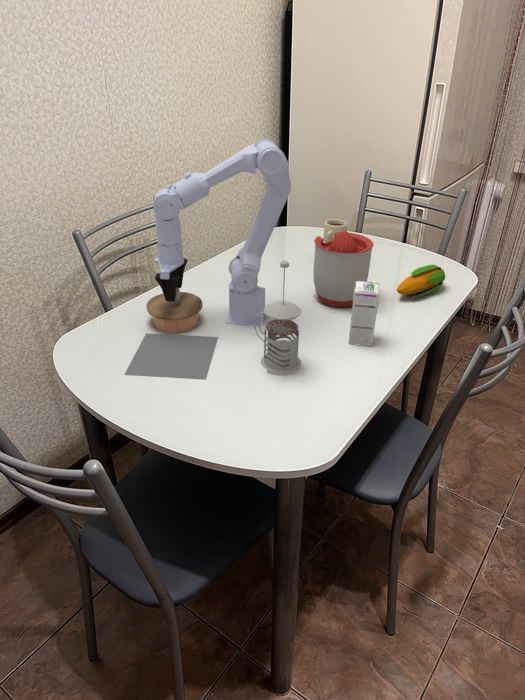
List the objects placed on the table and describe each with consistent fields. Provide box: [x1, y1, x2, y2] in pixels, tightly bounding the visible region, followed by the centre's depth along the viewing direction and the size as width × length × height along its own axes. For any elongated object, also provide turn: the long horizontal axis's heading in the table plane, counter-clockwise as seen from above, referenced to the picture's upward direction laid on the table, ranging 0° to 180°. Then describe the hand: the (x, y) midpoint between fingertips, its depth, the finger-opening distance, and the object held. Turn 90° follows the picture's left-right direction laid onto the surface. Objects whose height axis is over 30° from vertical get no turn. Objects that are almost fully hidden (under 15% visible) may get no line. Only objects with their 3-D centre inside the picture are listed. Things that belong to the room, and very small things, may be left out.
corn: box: [396, 264, 446, 300], centre depth 149 cm, size 7×8×20 cm
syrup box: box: [348, 281, 380, 347], centre depth 124 cm, size 6×6×14 cm
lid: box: [146, 287, 203, 320], centre depth 131 cm, size 14×14×5 cm
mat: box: [124, 332, 219, 381], centre depth 120 cm, size 18×18×1 cm
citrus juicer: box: [312, 230, 374, 308], centre depth 143 cm, size 16×17×20 cm
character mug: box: [322, 218, 348, 243], centre depth 167 cm, size 11×7×13 cm, turn 148°
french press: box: [253, 259, 302, 376], centre depth 113 cm, size 10×12×25 cm
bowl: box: [152, 313, 199, 333], centre depth 133 cm, size 11×11×4 cm
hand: (174, 294), depth 130 cm, fingers open, 7 cm apart
